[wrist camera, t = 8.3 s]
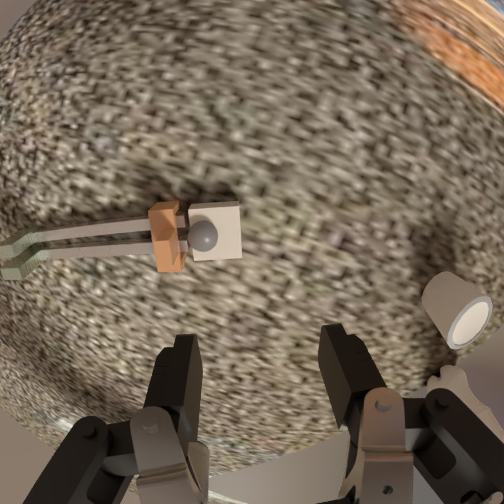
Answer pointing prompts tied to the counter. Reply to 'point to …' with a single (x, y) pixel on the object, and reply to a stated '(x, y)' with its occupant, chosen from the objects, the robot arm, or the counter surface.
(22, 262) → the leg
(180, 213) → the leg
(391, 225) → the counter surface
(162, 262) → the stepped wooden block
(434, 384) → the water bottle
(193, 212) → the block
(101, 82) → the counter surface
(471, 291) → the shot glass
